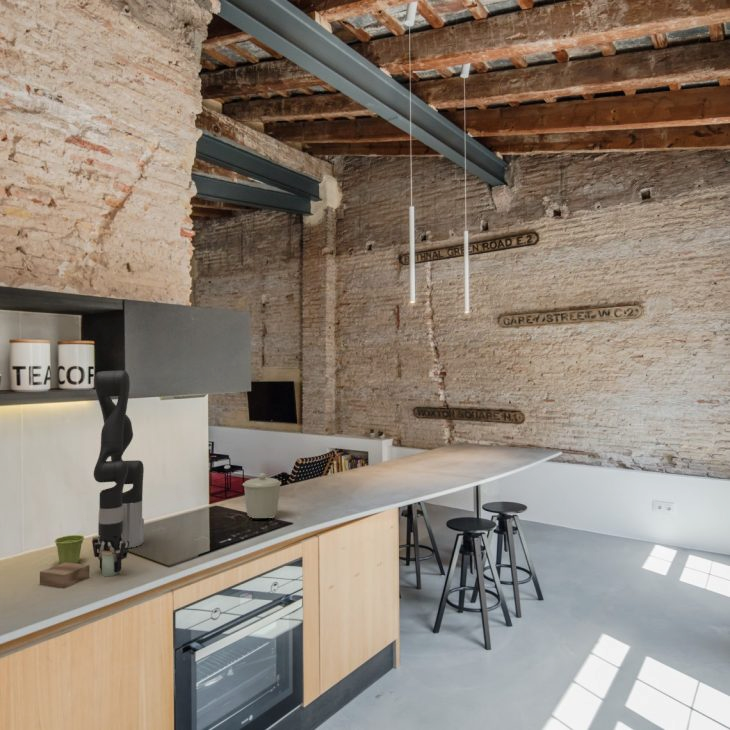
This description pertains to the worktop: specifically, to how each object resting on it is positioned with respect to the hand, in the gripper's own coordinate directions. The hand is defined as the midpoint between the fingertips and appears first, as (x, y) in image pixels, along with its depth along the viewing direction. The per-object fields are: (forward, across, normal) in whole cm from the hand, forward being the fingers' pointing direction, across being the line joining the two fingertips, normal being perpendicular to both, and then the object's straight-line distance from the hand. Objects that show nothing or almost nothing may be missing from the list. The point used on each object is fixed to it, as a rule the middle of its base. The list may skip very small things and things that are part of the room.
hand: (110, 570), depth 185 cm
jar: (+1, 0, 0) cm, 1 cm away
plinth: (+1, +9, +10) cm, 13 cm away
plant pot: (+1, +22, -4) cm, 22 cm away
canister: (+1, -12, -82) cm, 83 cm away
